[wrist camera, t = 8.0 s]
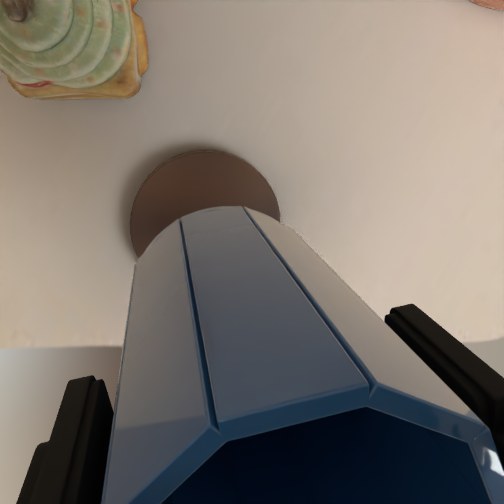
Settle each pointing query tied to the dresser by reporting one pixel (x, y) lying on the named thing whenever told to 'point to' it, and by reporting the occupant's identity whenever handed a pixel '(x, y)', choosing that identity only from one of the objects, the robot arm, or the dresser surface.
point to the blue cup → (277, 384)
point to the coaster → (196, 192)
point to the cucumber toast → (72, 48)
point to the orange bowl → (490, 4)
